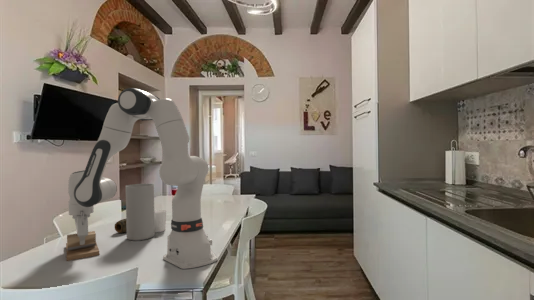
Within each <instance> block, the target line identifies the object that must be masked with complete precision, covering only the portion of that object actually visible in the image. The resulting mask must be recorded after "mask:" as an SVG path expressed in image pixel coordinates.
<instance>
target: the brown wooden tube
mask: <svg viewBox="0 0 534 300" xmlns="http://www.w3.org/2000/svg"><path fill="white" fill-rule="evenodd" d="M114 230H115V231H116V232H117V233H118V234H123V233H127V228H126V218H123V219H122V218H121V219H120V220H118V221H117V222H115V223H114Z"/></svg>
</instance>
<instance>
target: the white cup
mask: <svg viewBox="0 0 534 300" xmlns="http://www.w3.org/2000/svg"><path fill="white" fill-rule="evenodd" d="M154 218H155V233H162V232H164V231H166V227H167V226H166V224H167V223H166V222H167V210H165V209H154Z"/></svg>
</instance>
